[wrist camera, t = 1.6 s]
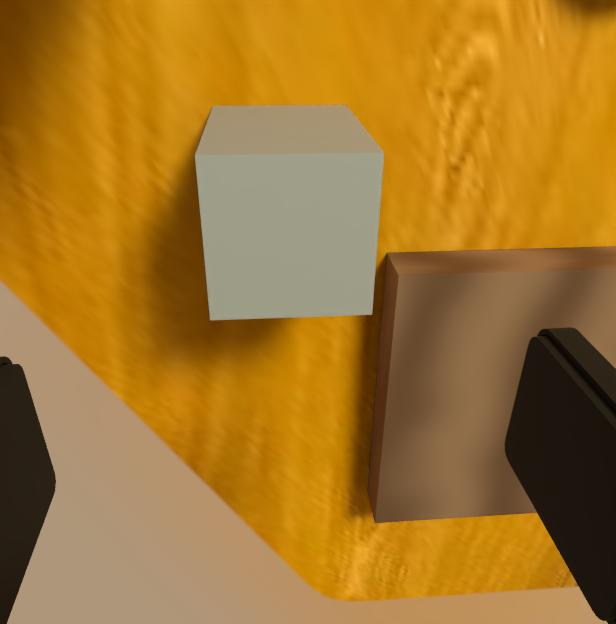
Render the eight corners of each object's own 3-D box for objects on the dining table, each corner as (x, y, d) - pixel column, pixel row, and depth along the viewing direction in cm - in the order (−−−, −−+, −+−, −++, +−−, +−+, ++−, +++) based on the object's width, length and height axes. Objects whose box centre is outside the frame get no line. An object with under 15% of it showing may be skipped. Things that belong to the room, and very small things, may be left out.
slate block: (346, 104, 23) (383, 152, 16) (341, 228, 26) (372, 314, 19) (213, 105, 23) (195, 155, 16) (222, 231, 26) (210, 320, 19)
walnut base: (702, 244, 28) (739, 265, 26) (613, 475, 36) (636, 506, 34) (387, 252, 27) (398, 275, 25) (367, 489, 35) (374, 522, 33)
